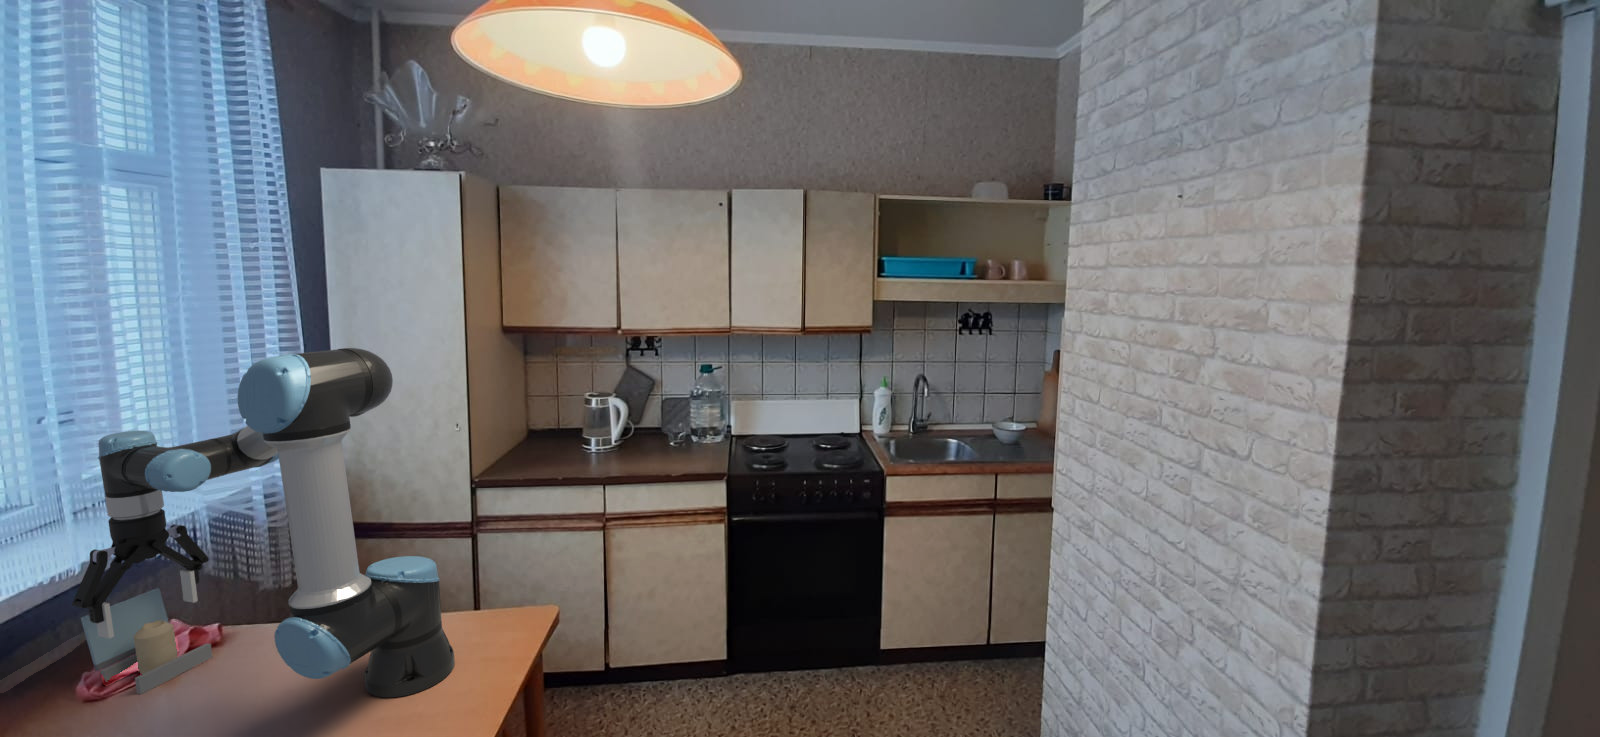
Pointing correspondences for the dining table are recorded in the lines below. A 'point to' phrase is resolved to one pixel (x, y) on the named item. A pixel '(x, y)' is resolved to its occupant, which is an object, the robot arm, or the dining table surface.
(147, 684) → the grey panel stand
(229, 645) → the dining table surface
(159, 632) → the candle
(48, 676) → the dining table surface
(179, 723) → the dining table surface
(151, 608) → the cover
